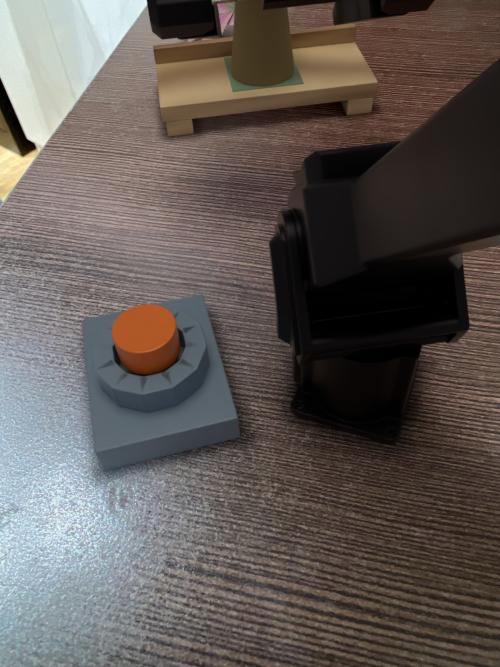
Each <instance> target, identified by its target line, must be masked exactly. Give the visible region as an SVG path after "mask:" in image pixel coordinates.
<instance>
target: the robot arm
mask: <svg viewBox="0 0 500 667" xmlns="http://www.w3.org/2000/svg"><path fill="white" fill-rule="evenodd" d="M238 1H248V0H146V6H147V11H148V19H149V24H150V29H151V32H152V33H153V34H154V35H155V36H157V37H158V38H159V39H160V40H162V41H163V40H173V39H177V40H180V41H182V40H188V39H195V40H202V39H219V38H223V33H222V32H221V24H220V17H219V10H218V6H217V4H219V3H229V2H238ZM261 1H262V9H263V10H268V9H277V8H286V7H287V8H294V7H295V8H296V7H304V6H314V5H322V4H331V3H333V8H332V11H331V12H332V13H331V14H332V23H333V26H337V25H345V24H355V23H361V22H368V21H374V20H381V19H388V18H395V17H402V16H406V15H408V14H410V13H419V12H426V11H428V10H429V8H431V6H432V4H434V2H435V1H436V0H261ZM292 174H293V180H294V183H295V185H294V186H292V188H291V189H290V191H289V193H288V197H287V209H283V210H282V209H281V210H278V212H277V222H276V223H277V224H275V225H273V226H274V234H273V236H272V237H271V238H270V239H269V241H268V251H269V252H268V253H269V259H270V268H271V277H272V287H273V294H274V304H275V315H276V316H275V318H276V319H275V321H276V322H275V325H276V327H275V328H276V329H275V330H276V334H277V338H278V340H280V341H282V342H284V343H286V344H288V345H289V347H291V348H292V349H291V350H292V353H291V354H292V358H291V379H292V380H293V382H294V383H296V384H298V385H297V387H296V390H295V392H294V394H293V397H292V398H291V401H290V409H289V410H290V412H291V413H292V415H294V416H297V417H300V418H303V419H306V420H309V421H313V422H316V423H320V424H322V425H325V426H329V427H333V428H336V429H339V430H342V431H345V432H348V433H352V434H355V435H358V436H361V437H365V438H367V439H372V440H375V441H378V442H381V443H385V444H388V445H393V444H397V442H398V441H399V439H400V436H401V432H402V428H403V425H404V421H405V417H406V413H407V409H408V405H409V402H410V398H411V395H412V391H413V387H414V383H415V379H416V376H417V372H418V368H419V365H420V356H421V351H422V349H423V346H427V345H433V344H441V343H446V344H452V343H457V342H459V341H460V340H461V339H462V338H463V337H464V336H465V335H466V334H467V333H468V332H469V330H470V325H471V323H470V315H469V306H468V297H467V287H466V279H465V278H466V277H465V269H464V260H463V254H465V253H470V252H474V251H480V250H484V249H489V248H494V247H500V57H499V58H498V59H497V60H495V61H494V62H493V63H492V64H490V65H489V67H487V68H486V69H485V70H483V71H482V72H481V73H480V74H479V75H478V76H477V77H475V78H474V79H473V80H472V81H471V82H469V83H468V84H467V85H466V86H464V88H462V89H461V90H460V91H459V92H458V93H457V94H455V95H454V96H453V97H451V99H449V100H448V101H447V102H446V103H445V104H443V105H442V106H441V107H439V109H438V110H436V111H435V112H434V113H433V114H431V115H430V116H429V117H428V118H427V119H425V121H424V122H422V123H421V124H419V126H418V127H416V128H415V129H414V130H413V131H412V132H411V133H409V134H408V135H407V136H406V137H405V138H403V139H402V140H395V141H388V142H379V143H372V144H371V143H370V144H365V145H356V146H355V145H354V146H348V147H347V146H346V147H339V148H331V149H324V150H323V149H322V150H316V151H315V150H314V151H313V152H312V153H311V154H309V155H307V156H306V157H305V158H304V159H303V161H302V164H301V167H300V169H297V170H293V172H292ZM297 406H300V407H301V408H297ZM388 433H390V434H393V436H389V435H388Z"/></svg>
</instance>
